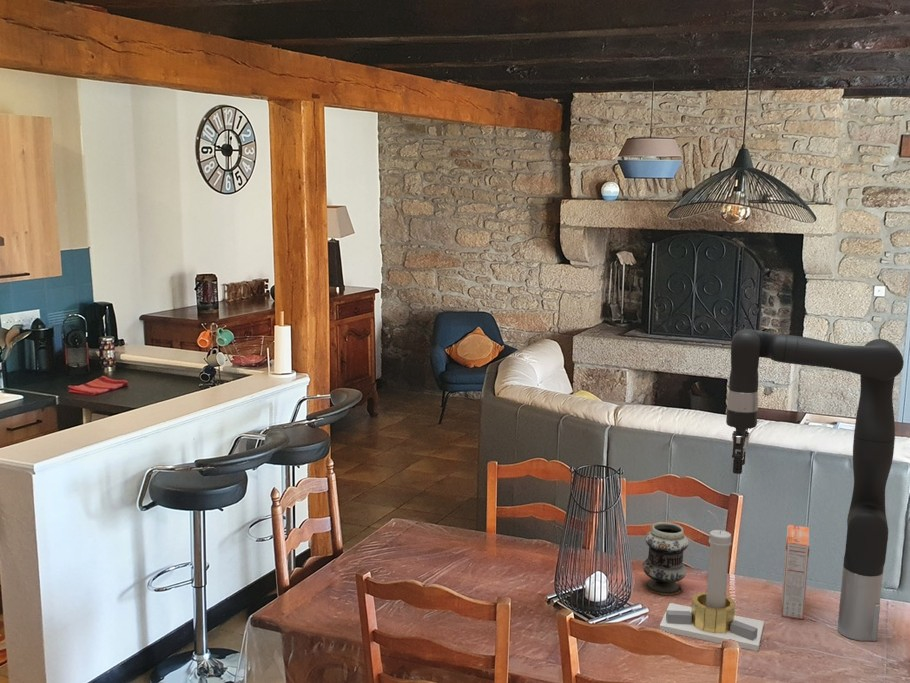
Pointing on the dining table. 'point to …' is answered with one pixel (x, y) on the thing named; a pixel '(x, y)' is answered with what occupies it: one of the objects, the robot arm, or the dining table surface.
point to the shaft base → (740, 631)
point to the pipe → (718, 568)
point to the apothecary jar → (665, 558)
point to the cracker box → (795, 572)
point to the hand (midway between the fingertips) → (738, 468)
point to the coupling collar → (712, 614)
